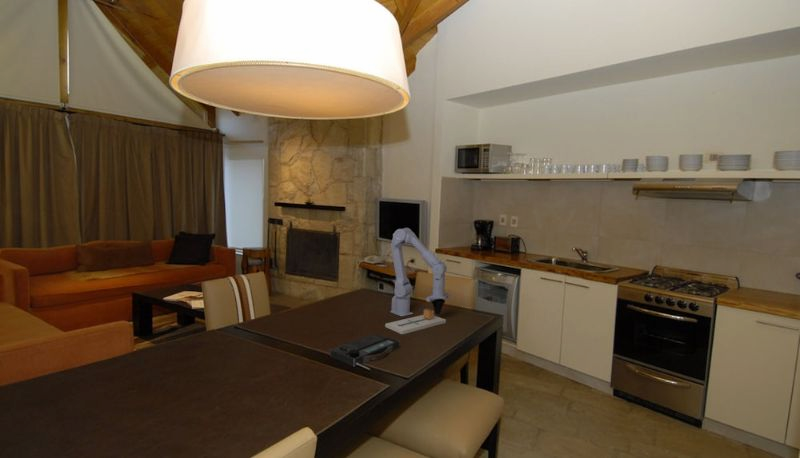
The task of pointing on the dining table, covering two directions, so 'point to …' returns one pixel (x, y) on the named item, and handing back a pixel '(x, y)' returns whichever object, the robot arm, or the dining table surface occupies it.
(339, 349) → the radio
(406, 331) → the fader console
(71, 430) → the dining table surface
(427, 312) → the fader tab
